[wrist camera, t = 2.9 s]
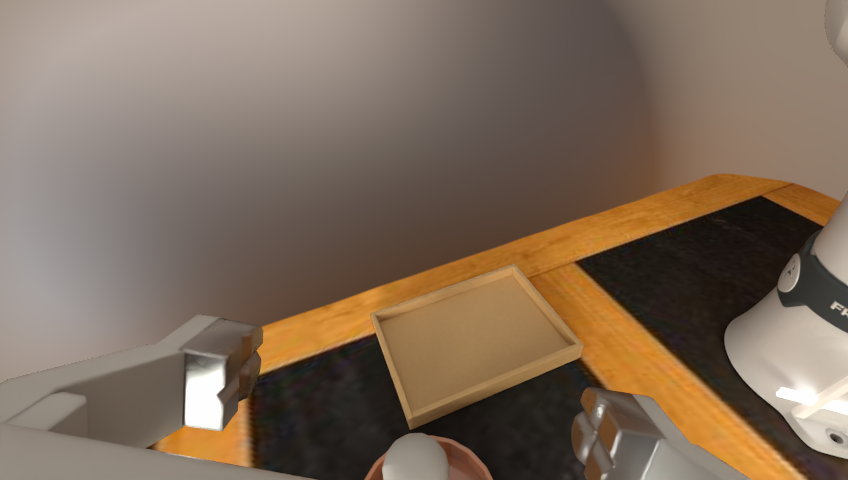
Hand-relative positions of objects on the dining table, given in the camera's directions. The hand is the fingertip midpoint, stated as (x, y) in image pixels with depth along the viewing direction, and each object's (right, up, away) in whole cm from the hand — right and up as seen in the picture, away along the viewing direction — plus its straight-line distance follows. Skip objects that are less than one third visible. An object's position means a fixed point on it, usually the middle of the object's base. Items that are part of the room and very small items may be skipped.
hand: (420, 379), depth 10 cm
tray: (+6, -8, +37) cm, 38 cm away
